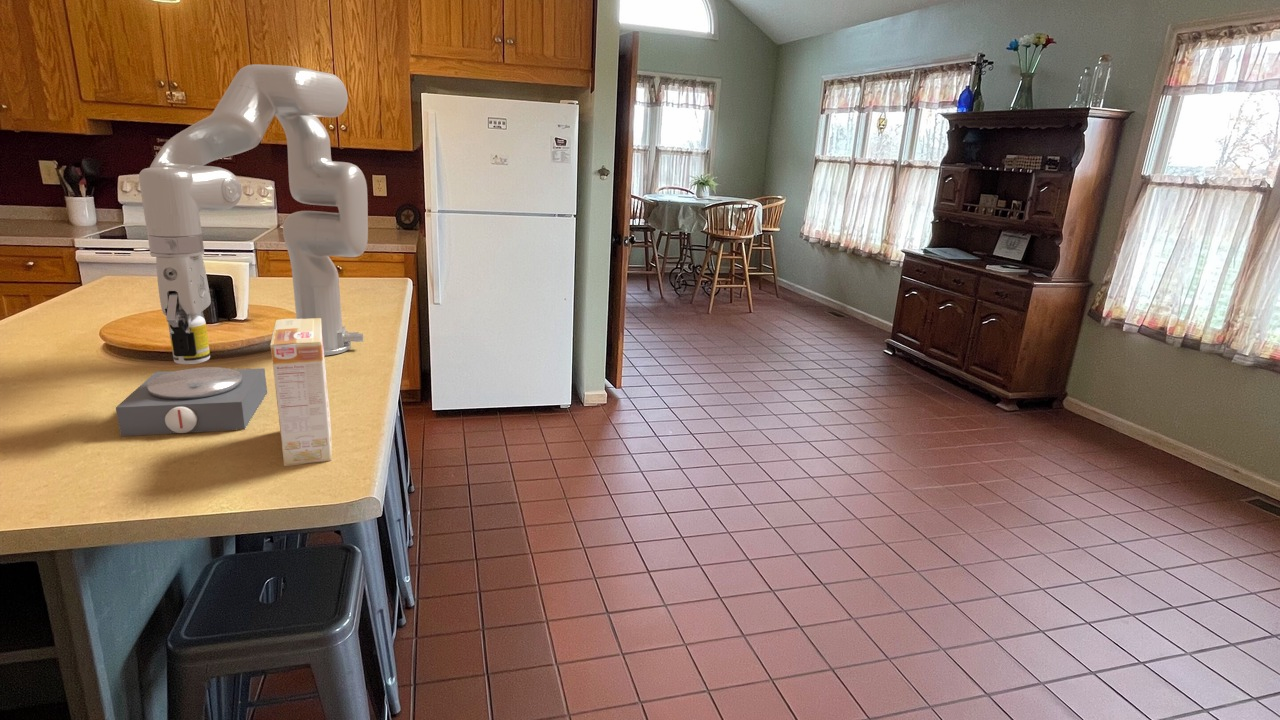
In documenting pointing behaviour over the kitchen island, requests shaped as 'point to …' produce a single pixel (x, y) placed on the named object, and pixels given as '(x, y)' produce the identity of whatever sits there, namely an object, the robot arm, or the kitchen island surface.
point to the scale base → (192, 408)
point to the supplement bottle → (200, 340)
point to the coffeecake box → (301, 390)
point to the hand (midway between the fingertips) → (191, 349)
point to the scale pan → (194, 383)
